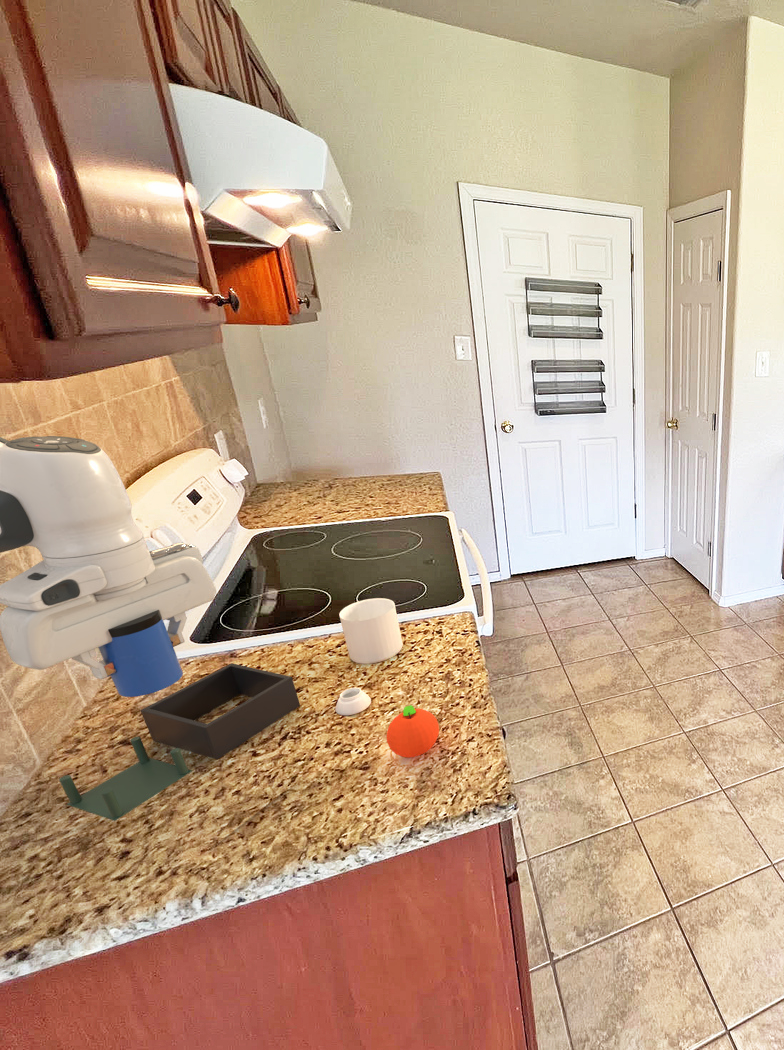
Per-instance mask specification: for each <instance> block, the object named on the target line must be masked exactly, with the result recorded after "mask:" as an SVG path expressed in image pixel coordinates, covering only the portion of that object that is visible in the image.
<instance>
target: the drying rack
mask: <svg viewBox="0 0 784 1050" xmlns="http://www.w3.org/2000/svg"><path fill="white" fill-rule="evenodd" d="M130 744H131V746H132V748H133V750H134V753H135V755H136V757H137V761H138V762H136V763H134V764H133V765H131V766H129V767H127V768H125V769H124V770H122V771H120V772H119V773H116V775H114V776H112V777H110V778H108V779H107V780H105V781H103V782H101V783H100V784H98V785H96V786H95V787H93V788H91V789H90V790H88V791H86V792H85V793H83V794H80V792H79V790H78V787H77V786H76V783H75V782H74V780H73V778H72V775H70V774H66V775H63V776H61V777H60V778H59V779H58V781H59V783H60V786H61V787H62V789H63V791H64V793H65V795H66V797H67V799H68V800H69V802H68V803H66V806H69V807H73V808H76V809H79V810H81V811H85V812H87V813H90V814H93V815H97V816H99V817H102V818H105V819H108V820H111V821H114V822H115V821H118V820H119V819H120V818H122V817H123V816H125V815H126V814H128V813H130V812H131V811H133V810H134V809H136V808H138V807H139V806H141V805H142V804H143V803H145V802H147V801H149V800H150V799H152V798H154V796H156V795H158V794H159V793H160V792H162V791H165V789H167V788H169V787H170V786H171V785H174V784H175V783H176V782H178V781H179V780H181V779H182V778H184V777H185V776H187V775H189V774H190V773H192V772H193V771H194V770H192V769H190V768H188V766H187V763H186V761H185V758H184V755H183V754H182V750H181V749H180V748H175V747H173V748H172V749H171V750H170V751H169V753H170V756H171V758H172V761H173V763H174V764H172V763H169V762H166V761H162V760H159V759H155V758H152V757H149V755H148V752H147V750H146V748H145V745H144V742H143V741H142V738H141V737H140V736H135V737H133V738H131V739H130Z"/></svg>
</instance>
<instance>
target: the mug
mask: <svg viewBox="0 0 784 1050" xmlns="http://www.w3.org/2000/svg"><path fill="white" fill-rule="evenodd" d="M338 614H339V620H340V623H341V628H342V632H343V636H344V640H345V645H346V649H347V653H348V657H349V659H350V660H351V661H352V662H354V663H356V664H361V665H370V664H376V663H380V662H383V661H386V660H389V659H391V658H393V657H394V656H396V655H398V653H400V652H401V650H402V648H403V646H404V644H403V638H402V633H401V628H400V624H399V618H398V613H397V609H396V604H395V602H394V600H392V599H389V598H385V597H383V598H381V597H375V598H367V599H363V600H358V601H356V602H353V603H351V604H349V605H347V606H345V607H343V608H342V609H341V610H340V612H339V613H338Z"/></svg>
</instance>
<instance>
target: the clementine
mask: <svg viewBox="0 0 784 1050" xmlns="http://www.w3.org/2000/svg"><path fill="white" fill-rule="evenodd" d="M439 734H440V725H439V721H438V719H437V718H436V716H435V715H434V714H433V713H432V712H430V711H428V710H426V709H424V708H415V707H414V706H413V705H411V704H409V705H406V706H405V707H404V708H403V711H402V712H400V713H399V714H398V715H396V716H395V717H394V718H393V719H392V720H391V722H390V723H389V725H388V728H387V730H386V743H387V745H388V747H389V749H390V750H391V751H392V752H393V753H394V754H395V755H397V756H400V757H403V758H415V757H418V756H421V755H424V754H425V753H427V752H429V750H431V748H433V746H434V745H435V743H437V739H438V737H439Z"/></svg>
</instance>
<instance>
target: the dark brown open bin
mask: <svg viewBox="0 0 784 1050" xmlns="http://www.w3.org/2000/svg"><path fill="white" fill-rule="evenodd" d="M296 689H297V688H296V687H295V683H294V680H293V677H292V676H290V675H285V674H282V673H276V672H273V671H268V670H263V669H258V668H255V667H249V666H245V665H241V664H237V663H233V662H232V663H229V664H226V665H225V666H223V667H221V668H219V669H218V670H215V671H214V672H212V673H209V674H208V675H206V676H204V677H202V678H199V679H197V680H196V681H194V682H192V683H190V684H189V685H187V686H184V687H182V688H181V689H179V690H177V691H175V692H172V693H171V694H169V695H167V696H165V697H164V698H161V699H159V700H158V701H155V702H154V703H152V704H150V705H148V706H146V707H144V708H142V709H141V710H140V711H139V712H140V713H141V715H142V718H143V720H144V723H145V725H146V728H147V730H148V733H149V735H150V738H151V740H152V741H153V743H157V744H161V745H163V746H164V745H165V746H168V747H172V748H180V750H181V751H185V752H189V753H192V754H197V755H200V756H204V757H207V758H210V759H215V760H220V759H221V758H222V757H224V756H226V755H227V754H229V753H230V752H232V751H233V750H234V749H236V748H238V747H239V746H241V745H242V744H244V743H246V742H247V741H248V740H250V739H251V738H253V737H255V736H256V735H257V734H259V733H261V732H262V731H264V730H265V729H267V728H268V727H270V726H271V725H273V724H274V723H276V722H278V721H279V720H280V719H282V718H284V717H285V716H287V715H288V714H290V713H292V712H293V711H295V710H297V709H298V708H300V706H301V704H300V701H299V696H298V694H297V690H296ZM239 695H241V696H245V697H249V699H247V700H245V701H244V702H242V703H240V704H239V705H237V706H235V707H234V708H232V709H230V710H229V711H227V712H225V713H224V714H222V715H220V716H218V717H216V718H214V719H213V720H211V721H210V722H208V723H205V722H201V721H197V720H198V719H199V718H202V717H203V716H205V715H206V714H208V713H210V712H212V711H213V710H215V709H217V708H219V707H220V706H222V705H224V704H226V703H228V702H229V701H231V700H232V699H235V698H236V697H238V696H239Z"/></svg>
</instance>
